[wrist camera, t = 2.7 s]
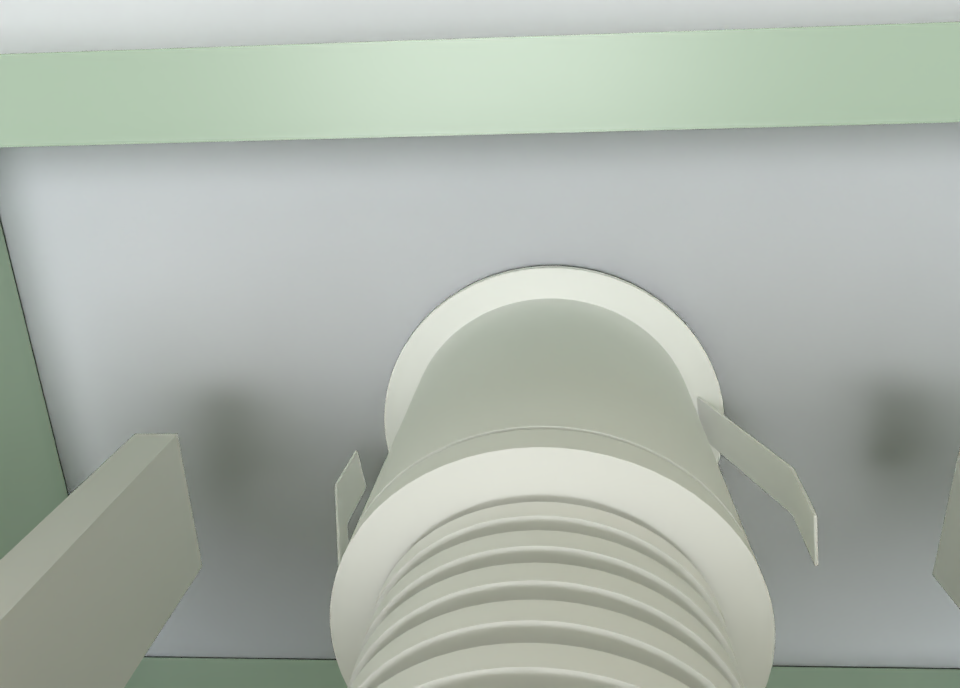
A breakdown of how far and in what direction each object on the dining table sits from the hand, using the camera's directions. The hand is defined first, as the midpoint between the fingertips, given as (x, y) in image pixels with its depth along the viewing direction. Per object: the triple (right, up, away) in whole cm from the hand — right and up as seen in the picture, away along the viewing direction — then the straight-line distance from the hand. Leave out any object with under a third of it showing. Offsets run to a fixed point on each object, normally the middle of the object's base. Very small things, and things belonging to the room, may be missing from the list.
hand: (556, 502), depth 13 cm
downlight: (0, +1, +3) cm, 3 cm away
